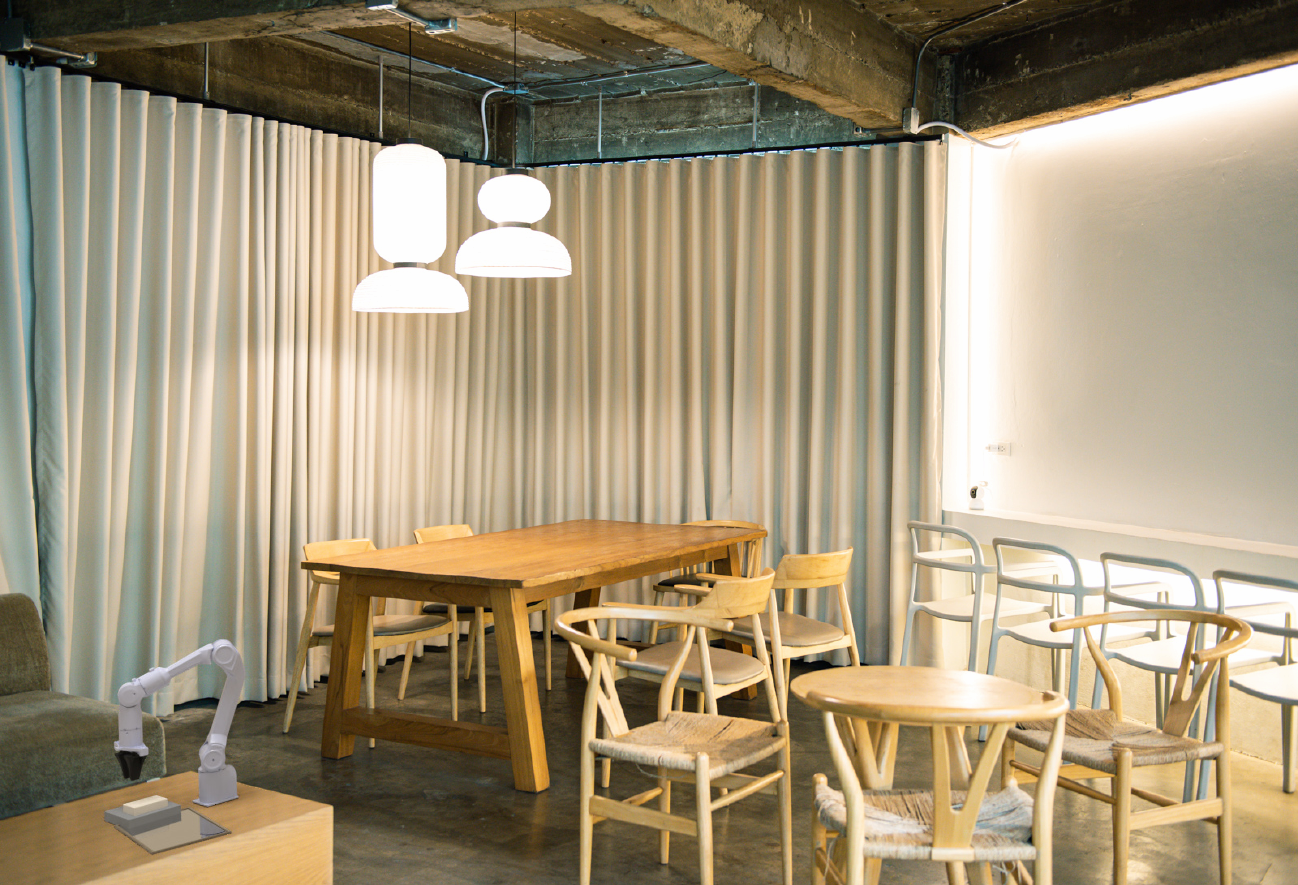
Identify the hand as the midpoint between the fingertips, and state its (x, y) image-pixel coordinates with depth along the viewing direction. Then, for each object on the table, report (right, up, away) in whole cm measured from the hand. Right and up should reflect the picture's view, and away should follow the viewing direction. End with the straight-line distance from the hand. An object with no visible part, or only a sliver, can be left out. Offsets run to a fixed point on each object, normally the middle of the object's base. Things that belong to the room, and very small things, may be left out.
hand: (131, 778), depth 285 cm
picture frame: (+17, -9, -14) cm, 24 cm away
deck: (+5, -9, -3) cm, 11 cm away
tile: (+6, -7, -4) cm, 10 cm away
